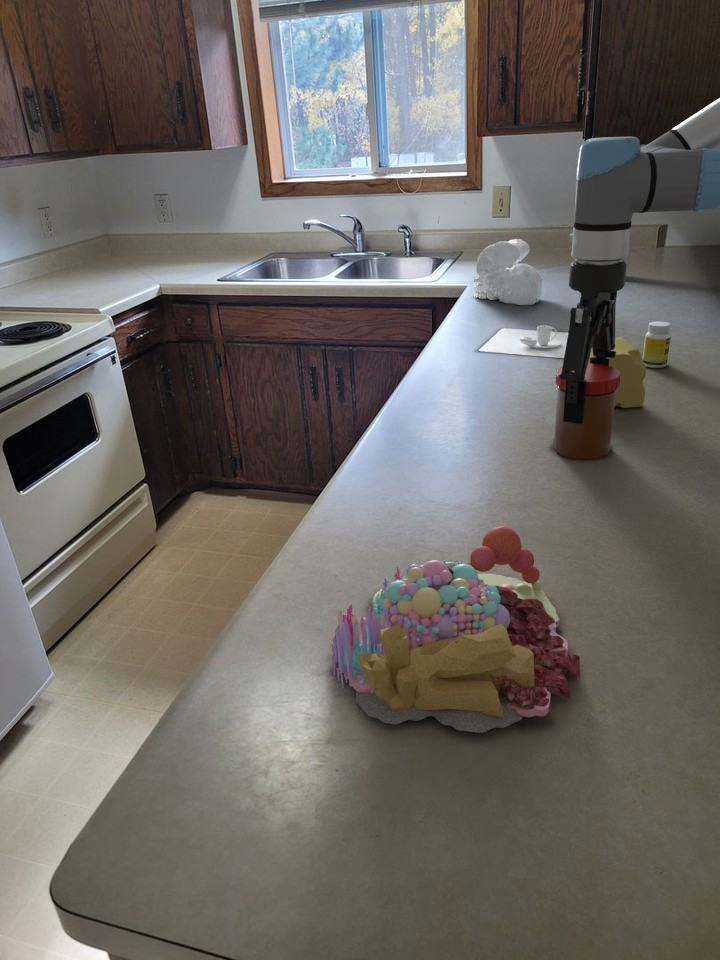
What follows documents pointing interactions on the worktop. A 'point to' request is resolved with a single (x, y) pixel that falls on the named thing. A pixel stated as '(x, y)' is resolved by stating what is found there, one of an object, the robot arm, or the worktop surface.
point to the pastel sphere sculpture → (458, 643)
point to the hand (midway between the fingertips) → (584, 409)
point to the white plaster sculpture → (507, 274)
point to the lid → (596, 379)
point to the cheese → (628, 374)
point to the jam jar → (585, 427)
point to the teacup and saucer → (528, 342)
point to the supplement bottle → (657, 344)
